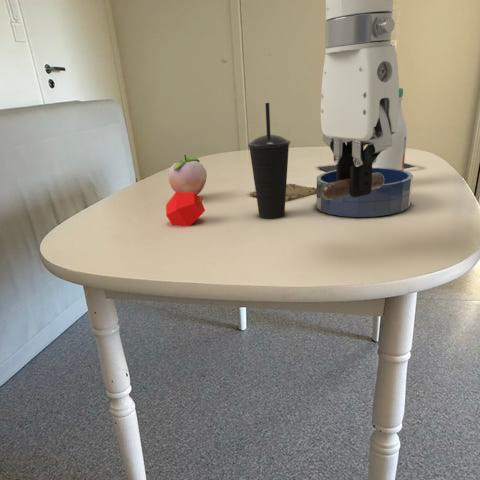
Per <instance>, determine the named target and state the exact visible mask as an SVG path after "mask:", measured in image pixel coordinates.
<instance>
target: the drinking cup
mask: <svg viewBox="0 0 480 480" xmlns="http://www.w3.org/2000/svg"><path fill="white" fill-rule="evenodd" d="M264 104H265V105H264V107H265V128H266V129H265V130H266V134H263V135H261V136H258V137H255V138H254V139H253V140H252V141H250V142H248V143H247V148H248V149H249V153H250V155H249V156H250V161H251V168H252V175H253V182H254V188H255V192H256V196H255V198H256V203H257V212H258V217H259V218H260V219H263V220H277V219H280V218H281V219H282V218H283V217H284V216H285V214H286V213H285V212H286V202H285V198H286V185H287V184H288V183H287V180H288V167H289V166H288V165H289V164H288V163H289V150H290V145H291V140H290V139H287V138H285V137H283V136H281V135H277V134H272V133H271V114H270V113H271V112H270V111H271V110H270V102H265V103H264Z"/></svg>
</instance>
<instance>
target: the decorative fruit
mask: <svg viewBox="0 0 480 480" xmlns="http://www.w3.org/2000/svg"><path fill="white" fill-rule="evenodd" d="M207 177H208V174H207V169H206V168H205V166H204V165H203V164H202V163H201V161H200V160H199V159H198V158H197V157H188V158H187V155H186V154H184V159H183V160H179V161H177V162H174V163H173V164H172V165H171V167H170V168H169V170H168V173H167V179H168V184H169V185H170V187H171V189H172V190H173V192H175V193H176V192H188V193H195V194H196V195H198V196H199V194H201V192H202V191H203V189H204V187H205V184H206V182H207Z"/></svg>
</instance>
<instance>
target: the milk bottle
mask: <svg viewBox="0 0 480 480" xmlns="http://www.w3.org/2000/svg"><path fill="white" fill-rule="evenodd" d="M403 96H404V88H402V87H399V109H398V125H397V131H396V133H395V134H394V135H392V140H393V145H392V146H391V147H390V148H388V149H386V150H384V151H381V153H380V154H379V155H378V157H377V160H376V162H375V163H374V164H372V168H392V169H398V170H404V171H405V169H404V163H405V157H406V147H407V134H408V133H407V131H408V129H407V123H406V120H405V117H404V114H403V110H402V109H403V108H402V100H403Z"/></svg>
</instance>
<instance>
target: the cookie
mask: <svg viewBox="0 0 480 480" xmlns="http://www.w3.org/2000/svg"><path fill="white" fill-rule="evenodd" d="M312 195H317V187H314V186H313V187H310V186H301V185H298V184H296V183H293V184H292V183H286V198H285V203H286V202H291V201H294V200H298V199H301V198H304V197H309V196H312ZM249 196H251V197H253V196H254V197H256V191H253V192H250V193H249Z"/></svg>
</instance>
